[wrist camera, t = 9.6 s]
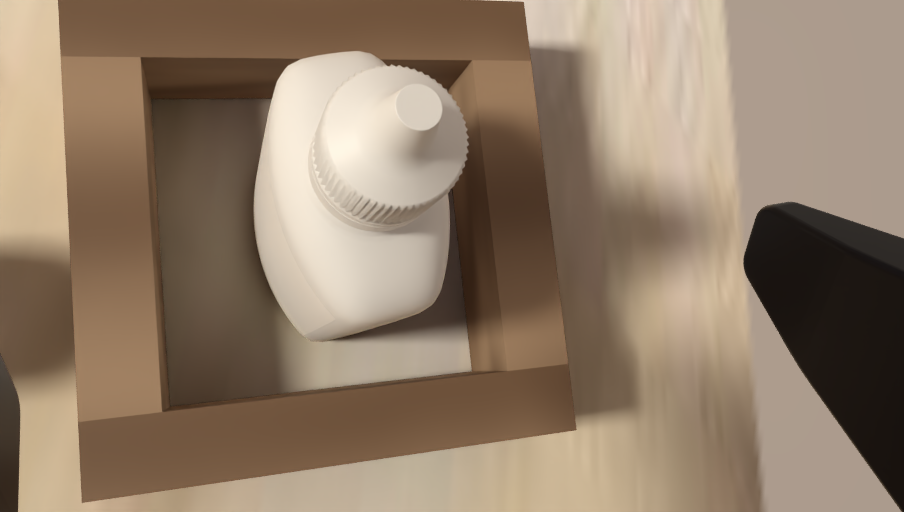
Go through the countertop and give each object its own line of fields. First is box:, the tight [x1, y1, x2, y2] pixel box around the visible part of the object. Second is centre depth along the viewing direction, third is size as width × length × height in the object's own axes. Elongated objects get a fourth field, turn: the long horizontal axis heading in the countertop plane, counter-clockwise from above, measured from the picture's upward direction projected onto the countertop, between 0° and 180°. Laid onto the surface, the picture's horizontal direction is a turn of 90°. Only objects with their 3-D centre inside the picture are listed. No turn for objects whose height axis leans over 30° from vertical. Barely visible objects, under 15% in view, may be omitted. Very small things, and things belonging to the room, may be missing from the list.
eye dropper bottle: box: [254, 51, 469, 342], centre depth 17 cm, size 4×6×12 cm
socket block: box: [58, 0, 576, 503], centre depth 21 cm, size 12×12×3 cm
